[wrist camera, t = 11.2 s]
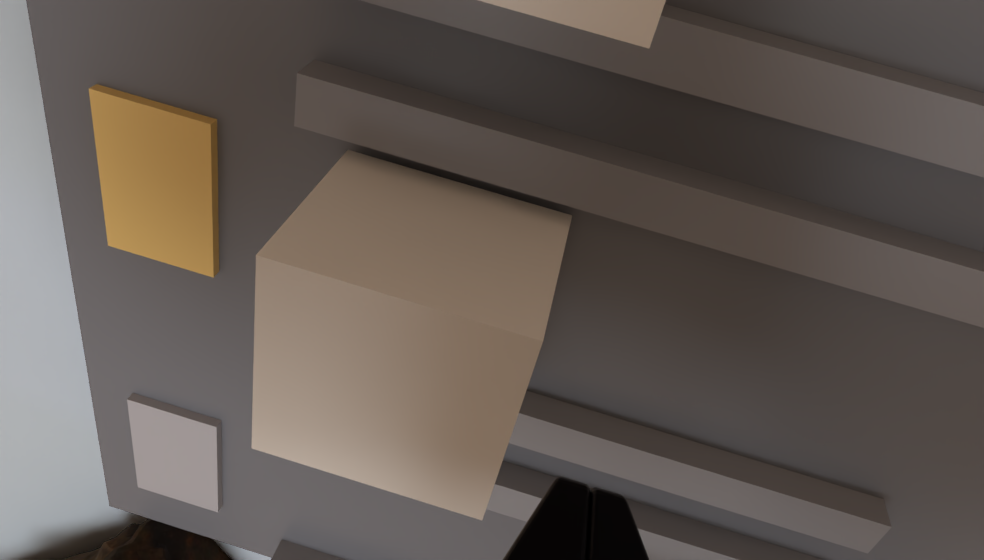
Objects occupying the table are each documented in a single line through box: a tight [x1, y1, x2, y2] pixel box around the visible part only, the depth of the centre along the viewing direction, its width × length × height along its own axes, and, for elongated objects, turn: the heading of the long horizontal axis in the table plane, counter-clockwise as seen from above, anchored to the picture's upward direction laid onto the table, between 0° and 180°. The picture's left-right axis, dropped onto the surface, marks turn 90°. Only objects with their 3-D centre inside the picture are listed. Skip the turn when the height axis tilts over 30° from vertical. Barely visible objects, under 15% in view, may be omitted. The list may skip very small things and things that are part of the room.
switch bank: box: [26, 0, 984, 560], centre depth 12 cm, size 18×20×2 cm
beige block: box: [251, 150, 572, 520], centre depth 11 cm, size 4×4×3 cm
